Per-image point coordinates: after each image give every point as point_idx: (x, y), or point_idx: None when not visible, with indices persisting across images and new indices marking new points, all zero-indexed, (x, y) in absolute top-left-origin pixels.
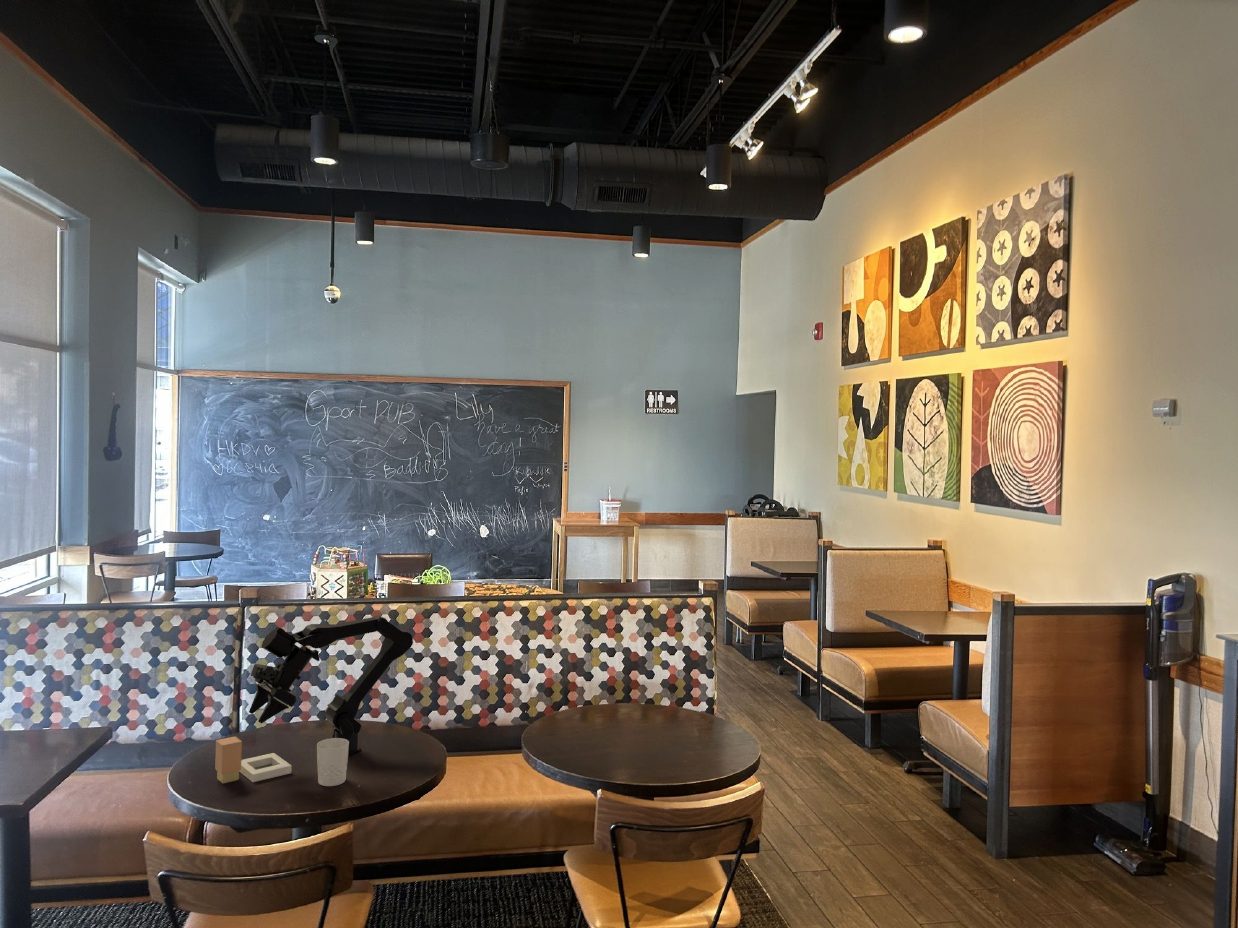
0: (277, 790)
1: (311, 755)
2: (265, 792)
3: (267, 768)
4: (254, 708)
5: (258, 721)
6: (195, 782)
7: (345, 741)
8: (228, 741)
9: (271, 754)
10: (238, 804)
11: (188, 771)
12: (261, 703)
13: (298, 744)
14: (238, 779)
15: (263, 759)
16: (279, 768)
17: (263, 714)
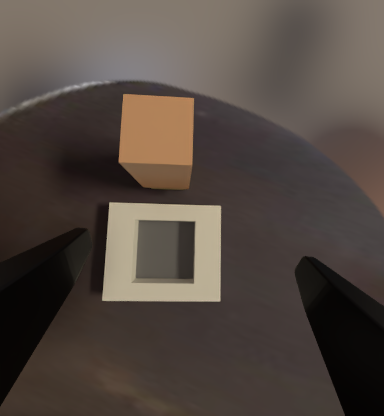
0: (34, 226)
1: (188, 384)
2: (42, 203)
3: (124, 244)
4: (315, 295)
5: (83, 228)
6: (193, 120)
7: None
8: (151, 126)
9: (212, 291)
10: (23, 139)
11: (260, 130)
12: (346, 374)
13: (283, 390)
14: (151, 188)
15: (194, 262)
16: (105, 268)
17: (15, 260)
